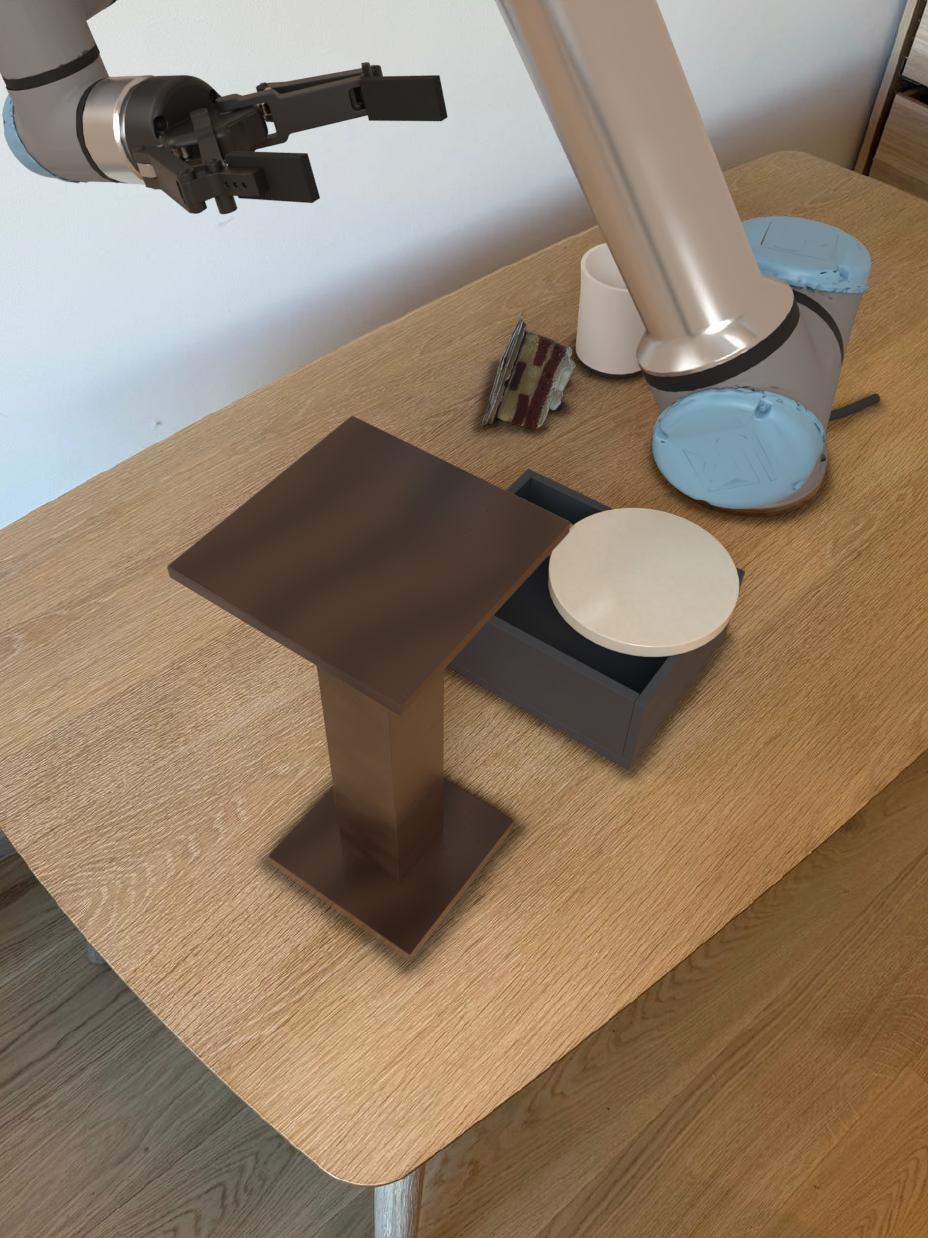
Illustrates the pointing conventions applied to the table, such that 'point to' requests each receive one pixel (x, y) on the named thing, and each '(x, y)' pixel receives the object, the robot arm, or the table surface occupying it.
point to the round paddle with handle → (643, 582)
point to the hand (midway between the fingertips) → (379, 136)
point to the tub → (575, 657)
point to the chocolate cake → (529, 379)
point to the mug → (606, 318)
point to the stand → (378, 656)
